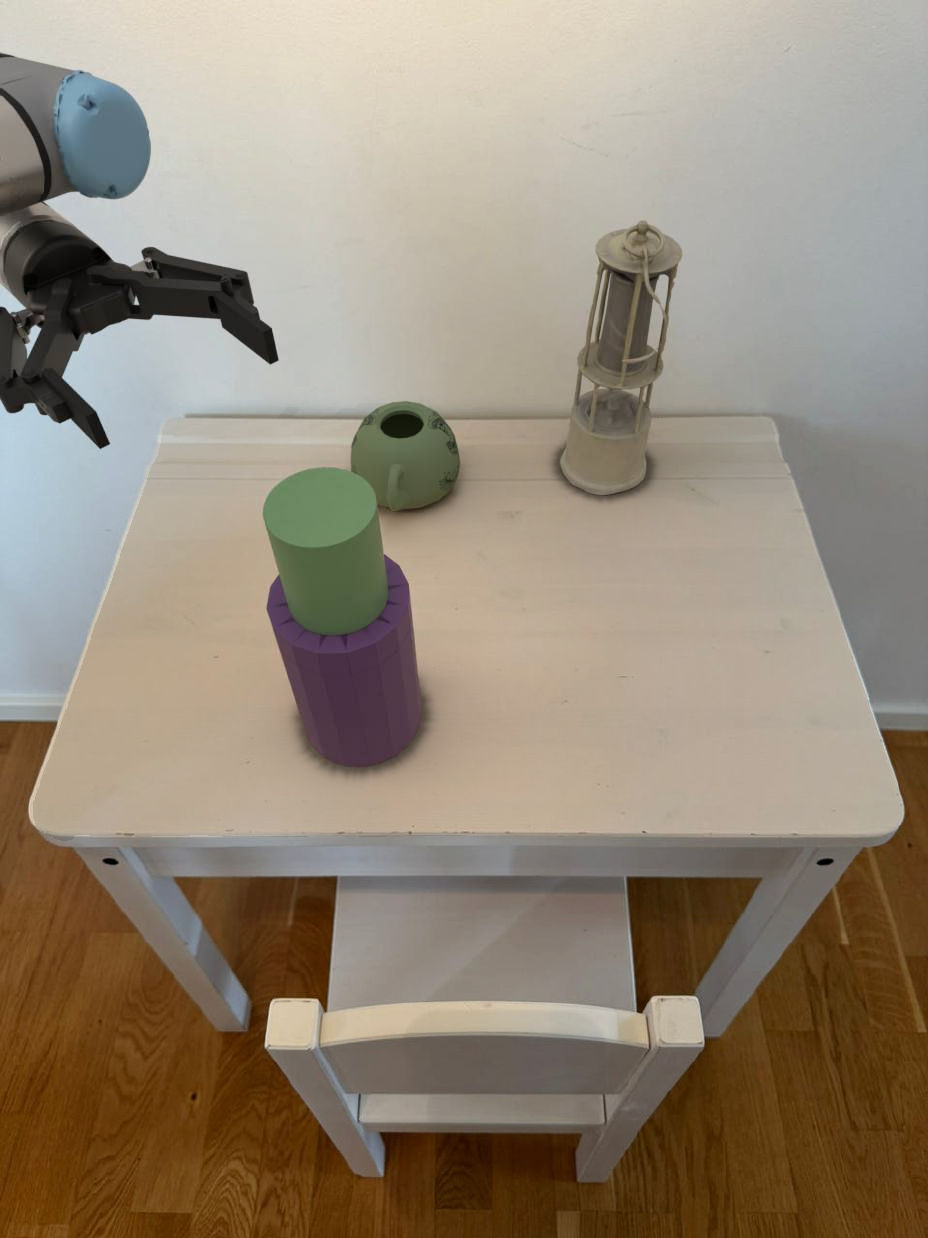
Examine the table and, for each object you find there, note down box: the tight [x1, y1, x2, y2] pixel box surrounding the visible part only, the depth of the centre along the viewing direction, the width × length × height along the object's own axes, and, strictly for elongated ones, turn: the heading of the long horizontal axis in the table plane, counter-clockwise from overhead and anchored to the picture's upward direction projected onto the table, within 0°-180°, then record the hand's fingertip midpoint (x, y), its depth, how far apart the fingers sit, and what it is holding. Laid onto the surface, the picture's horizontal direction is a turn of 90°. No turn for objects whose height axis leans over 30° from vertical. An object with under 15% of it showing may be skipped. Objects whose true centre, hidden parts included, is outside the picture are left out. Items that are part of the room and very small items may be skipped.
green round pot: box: [350, 400, 461, 512], centre depth 98 cm, size 16×13×9 cm
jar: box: [265, 553, 422, 768], centre depth 75 cm, size 11×11×18 cm
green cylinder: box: [262, 466, 389, 636], centre depth 64 cm, size 8×8×10 cm
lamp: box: [559, 220, 683, 496], centre depth 91 cm, size 10×13×30 cm
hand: (189, 386), depth 59 cm, fingers open, 13 cm apart
